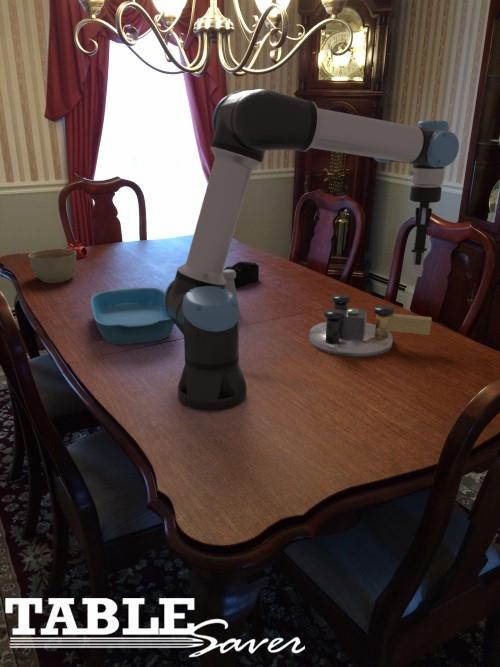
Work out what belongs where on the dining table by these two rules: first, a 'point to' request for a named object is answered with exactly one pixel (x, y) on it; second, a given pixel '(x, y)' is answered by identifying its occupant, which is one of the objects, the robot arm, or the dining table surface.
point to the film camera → (245, 273)
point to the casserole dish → (131, 315)
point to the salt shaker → (230, 280)
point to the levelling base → (351, 343)
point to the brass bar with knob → (399, 322)
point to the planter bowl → (53, 264)
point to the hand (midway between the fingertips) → (416, 275)
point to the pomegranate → (78, 250)
